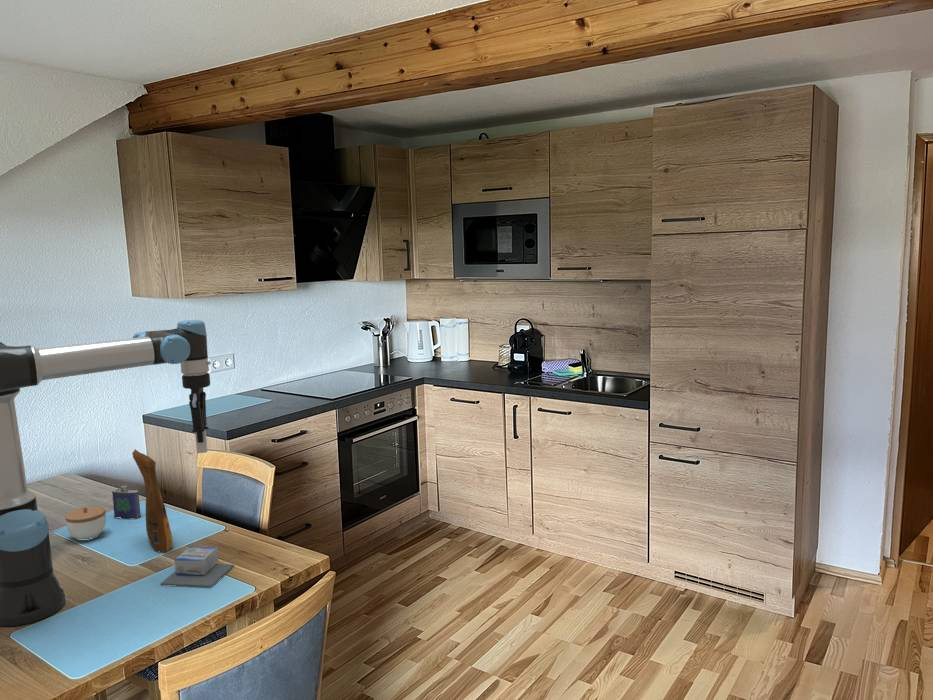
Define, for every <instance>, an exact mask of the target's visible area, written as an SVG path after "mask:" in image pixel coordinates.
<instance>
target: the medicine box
mask: <svg viewBox="0 0 933 700" xmlns="http://www.w3.org/2000/svg"><path fill="white" fill-rule="evenodd" d="M218 550H219V549H218V546H192V545H191V546H189V547H188V548H187V549H186V550H185V551H183V552H182V553H181V554H179V556H177V557H176V558H175V559H174V567H175V571H176V575H203V576H204V575H205V574H206V573H207V572H208V571H209V570H210V569H211V568H212V567H213V566H214V565H216V564H219V553H218V552H219V551H218Z"/></svg>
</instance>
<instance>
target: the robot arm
mask: <svg viewBox="0 0 933 700" xmlns="http://www.w3.org/2000/svg"><path fill="white" fill-rule="evenodd" d="M207 336H208V335H207V330H206V324H205V322H204V321H203V320H200V319H187V320H180V321H178V322H177V324H176V328H173V329H161V330H148V331H147V330H144V331H140V332H139V331H138V332H136V333H134V334H133V336H132V338H125V339H123V338H122V339H116V340H115V339H114V340H106V341H98V342H89V343H80V344H79V343H78V344H71V345H62V346H61V345H60V346H52V347H44V348H37V347H35V346H33V345H30V344H29V345H23V346H21V345H20V346H18V345H17V346H13V345H12V346H11V345H6V344H5V343H3V342H2V341H0V627H15V626H22V625H23V626H24V625H27V624H31V623H35V622H38V621H40V620H42V619H46V618H48V617H50V616H51V615H53V614H55V613H57V612H59V610H61V609H62V608H63V607H64V606H65V604H66V598H65V597H66V595H65V594H66V593H65V590H64V589H63V587H61V586H60V582H59V580H58V579H57V576H56V574H55V572H54V566H53V564H54V563H53V559H52V558H53V556H52V550H51V549H52V548H51V542H50V533H49V532H50V525H49V522H48V519H47V516H46V515H45V514H44V513H43V512H42V511H38V503H37V497H36V494H35V493H34V492H33V491H30V490H28V485H27V484H28V483H27V478H26V477H27V476H26V469H25V464H24V457H23V452H22V451H23V449H22V446H21V445H22V444H21V443H22V442H21V438H20V437H21V436H20V431H19V425H18V417H17V416H18V415H17V410H16V409H17V408H16V404H15V398H16V397H17V396H18V395H19V394H20V392H21V389H23V388H27V387H28V388H29V387H35V386H36V387H37V386H38V385H39V384H40V383H41V382H42V381H46V380H47V381H48V380H53V379H60V378H68V377H74V376H83V375H87V374H88V375H89V374H95V373H103V372H104V373H105V372H111V371H117V370H119V371H120V370H125V369H132V368H138V367H139V368H141V367H147V366H155V365H156V366H157V365H163V364H169V365H175V364H176V365H177V364H180V373H181V374H182V376H181V381H182V382H181V383H182V384H181V385H182V388H183V389H185V390H186V389H189V390H190V394H189V395H188V398H189V402H188V405H189V408H190V414H191V422H192V430H191V431H192V432H191V433H195V435H194V436H195V445H196V454H204V453H205V454H206V453H208V442H207V430H209V426H207V425H208V423H207V407H206V406H207V404H206V398H207V394H206V391H204V388H207V387H210V385H211V378H210V377H211V376H210V373H209V371H210V366H209V365H211V361H208V360H209V356H208V339H207Z"/></svg>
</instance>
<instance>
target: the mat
mask: <svg viewBox="0 0 933 700" xmlns="http://www.w3.org/2000/svg"><path fill="white" fill-rule="evenodd" d="M234 567H235V564H231V563H230V564H228V563H217V564H216V565H214V566H213V567H212V568H211V569H210V570H209V571H208V572H207V573H206V574H205V575H204V576H203V575H176V570H175V571H174V572H172V573H171V574H170V575H168V576H167V577H166V578H165V579H163V580H162V581H161V582H160V586H163V585H176V586H175V587H183V586H187V588H203V587H212V586H213V585H214V584H215V583H216V582H217V581H218V580H219V579H220V578H221V579H222V578H224V577H223V576H224V575H225V576H226V575H227V574H228V573H229V572H230V571H231V570H232V569H233V568H234ZM221 579H220V580H221ZM220 580H219V581H220ZM219 581H218V582H219ZM218 582H217V583H218ZM217 583H216V584H217ZM216 584H215V585H216ZM215 585H214V586H215ZM214 586H213V587H214ZM213 587H212V588H213Z"/></svg>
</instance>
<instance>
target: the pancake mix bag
mask: <svg viewBox="0 0 933 700" xmlns="http://www.w3.org/2000/svg"><path fill="white" fill-rule="evenodd" d="M132 458H133V460H134V461H135V463H136V465H137V467H138V469H139V472H140V474H141V476H142V479H143V482H144V486H145V527H146V530H145V532H146V534H147V538H148V540H149V542H150V544H151V546H152V547H153V549H155V550H154V552H156V551H160V552H159V553H168V551H169V550H171V549H172V548H173V536H172V531H171V528H170V527H171V526H170V522H169V518H168V514H167V509H166V506H165V503H164V500H163V496H162V493H161V490H160V486H159V482H158V476H157V465H156V462H155V460H154V459H153V458H151V457H150V456H148V455H147V454H145V453H141V452H140V451H138V449H136V448H135V449H134V450H133V451H132ZM170 548H171V549H170ZM168 549H169V550H168Z"/></svg>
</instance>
